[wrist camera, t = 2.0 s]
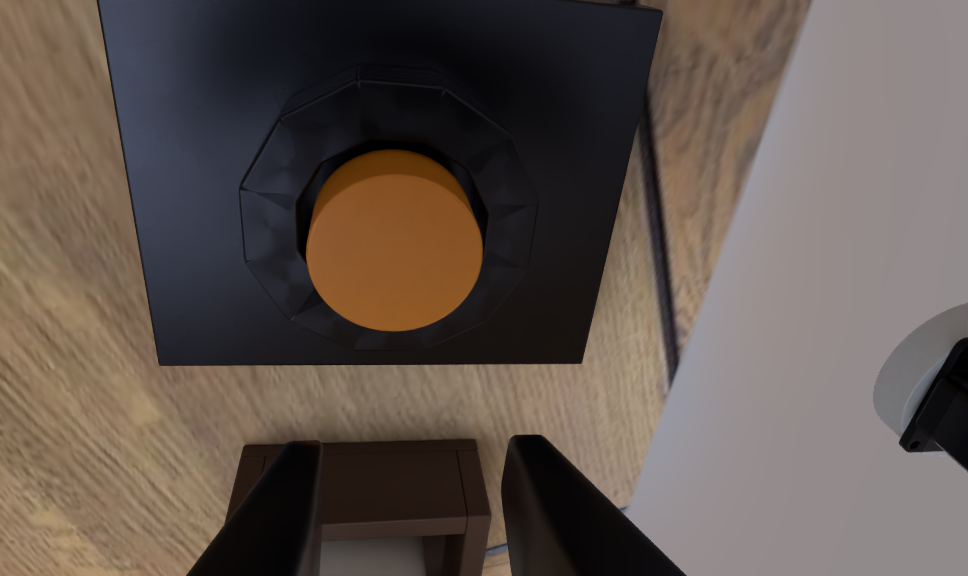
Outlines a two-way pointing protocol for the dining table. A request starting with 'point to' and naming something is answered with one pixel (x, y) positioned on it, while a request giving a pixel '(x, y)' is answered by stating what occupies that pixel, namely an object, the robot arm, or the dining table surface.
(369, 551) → the canister
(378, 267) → the button
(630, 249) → the dining table surface
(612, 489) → the dining table surface
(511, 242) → the base
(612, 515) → the robot arm
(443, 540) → the holder
